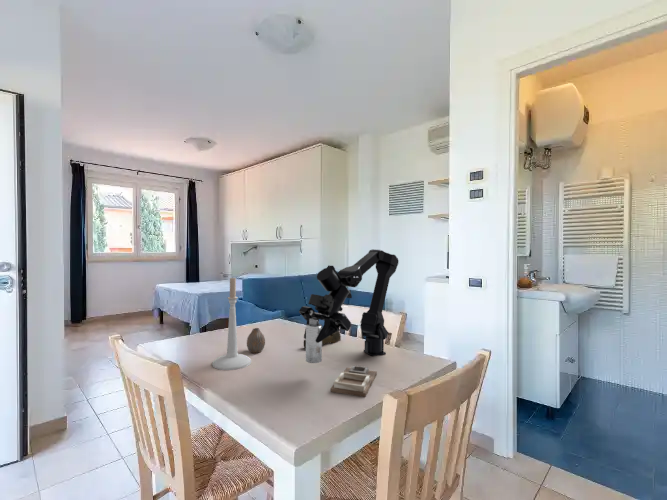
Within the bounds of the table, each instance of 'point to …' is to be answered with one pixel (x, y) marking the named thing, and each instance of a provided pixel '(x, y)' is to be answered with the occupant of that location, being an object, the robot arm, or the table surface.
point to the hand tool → (329, 339)
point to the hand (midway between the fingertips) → (310, 340)
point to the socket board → (354, 381)
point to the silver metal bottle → (313, 341)
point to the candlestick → (232, 339)
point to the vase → (255, 341)
